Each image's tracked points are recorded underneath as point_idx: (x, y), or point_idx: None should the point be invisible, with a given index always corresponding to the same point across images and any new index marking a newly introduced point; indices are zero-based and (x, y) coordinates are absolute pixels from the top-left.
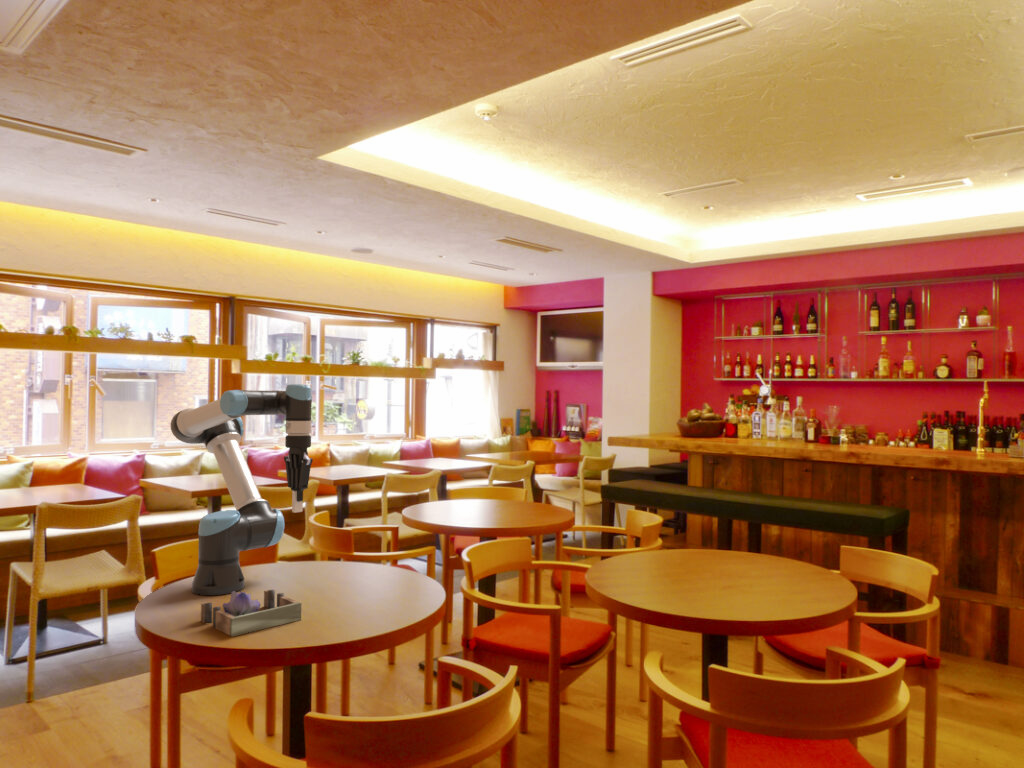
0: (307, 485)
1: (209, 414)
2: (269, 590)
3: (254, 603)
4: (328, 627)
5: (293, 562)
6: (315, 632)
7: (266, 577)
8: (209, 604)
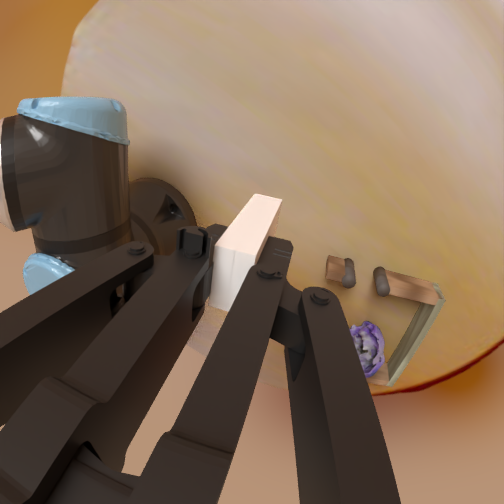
0: (342, 317)
1: None
2: (345, 284)
3: (382, 348)
4: (491, 289)
5: (93, 12)
6: (483, 312)
7: (144, 112)
8: None
